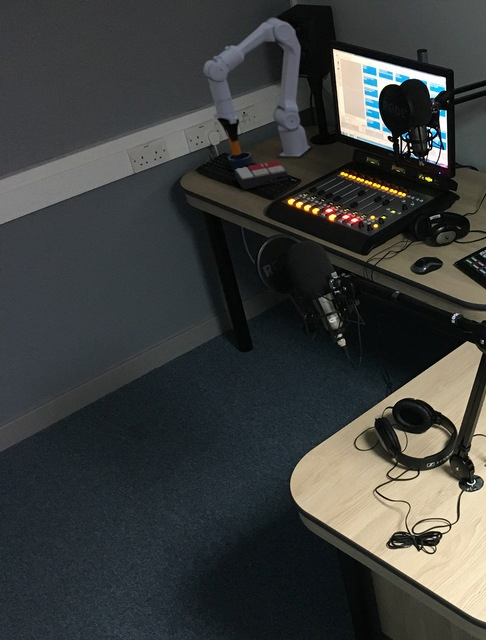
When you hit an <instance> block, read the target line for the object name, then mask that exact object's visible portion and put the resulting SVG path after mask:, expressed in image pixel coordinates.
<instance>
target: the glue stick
mask: <svg viewBox="0 0 486 640" xmlns="http://www.w3.org/2000/svg"><path fill="white" fill-rule="evenodd" d="M226 132H227V131H226ZM226 136H228V137H227V139H228V143H229V146H230V150H231V153H232V154H233V155H239V154H241V152H242V150H241V145H240V142H239V140H238V141H234V142H232V141H231V140H230V138H229V135H228V133H227V135H226ZM232 154H231V155H232Z"/></svg>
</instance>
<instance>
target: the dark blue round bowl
mask: <svg viewBox="0 0 486 640" xmlns="http://www.w3.org/2000/svg"><path fill="white" fill-rule="evenodd" d="M227 160H228V163H229V166H231V167H234V168H239V167H244V166H246V165H248V164H250V163H253V164H254V165H255V163H254V160H253V155H252V153H251V152H248V151H241V154H239V155H233V154H230V155H228V156H227ZM231 167H230V169H231V170H232V171H234V170H235V169H234V168H231Z"/></svg>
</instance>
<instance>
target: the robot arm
mask: <svg viewBox="0 0 486 640" xmlns="http://www.w3.org/2000/svg"><path fill="white" fill-rule="evenodd" d="M265 42H268V43H269V42H271V43H272V42H274V43H275V42H277V44H278V45H279V46H280V47H281V49H282V50H283V57H282V58H283V59H282V69H281V70H282V71H281V83H280V92H279V93H280V94H279V98H278V100H277V102H276V107H275V109H274V111H273V114H272V116H273V120H274V122H275V123H277V126H278V127H277V130H278V135H279V138H280V142H281V147H282V150H283V151H282V152H281V153H280V154H279V157H301V156H302V155H303V154H304V153H305V152H307V151H308V150H309V149H310V148H311V145H309V144H308V140H307V139H308V138H307V135H306V131H305V128H304V127H303V126H302V125H301V117H300V115H299V107H298V104H297V95H298V94H297V92H298V83H299V70H300V61H301V50H302V49H301V47H302V46H301V44H300V42H299V39H298V37H297V34H296V29H294V27H293V26H292V25H291V24H290V23H288V22H287V21H283V20H281V19H279V18H276V17H270V18H268V19H267V20H266V21H264V22H262V23H261V24H260V25H259V26H258V27H257V28H256V29H255V30H254V31H253V32H252V33H251V34H249V35H248V36H247V37H246V38H244V40H242V41H240V43H239V44H238V45H230V46H229V45H226V46H225V47H224V50H223V51H222V52H221V53H219V54H218V55H214V56H213V58H212V59H210V60H207V61H206V62H205V63H204V65H203V70H202V72H203V74H204V76H205V77H207V81H208V84H209V88H210V92H211V96H212V100H213V104H214V107H215V111H216V113H214V114H213V117H214V118H216V120H217V121H218V122H219V123H220V125H221V126H222V128H223V130H224V133H225V134H226V136H227V133H228V135H229V138H230V140H231V141H232V142H234V141H239V132H238V131H239V124H240V120H239V118H236V115H237V111H236V110H235V107H234V102H233V99H232V95H231V90H230V87H229V84H228V81H227V77H228V74H229V73H230V72H231V71H233V70H234V69H235V68H236V67H238V66H239V65H240V64H242V63H243V62H244V60H245V55H247V54H248V53H250V52H251V51H253V50H254V49H256V48H257V47H258V46H259V45H261V44H263V43H265ZM226 131H227V132H226ZM227 138H228V136H227Z"/></svg>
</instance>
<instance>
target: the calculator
mask: <svg viewBox="0 0 486 640" xmlns="http://www.w3.org/2000/svg"><path fill="white" fill-rule="evenodd" d="M233 172H234V177H235V180H236V181H237V183H238V185H240V187H241V189H242V190H248V189H252V188H255V187H258V186H259V187H260V186H264V185H268V184H272V183H276V182H278V183H280V182H284V181H289V176H288V171H287V169H286V168H285V167H284V166H283V165H282V164H281V163H280V162H279V161H278V160H273V161H267V162H263V163H257V164H254V165H250V166H248V167H243V168H237V169H235V170H233ZM280 176H288V177H287V178H283V179H278V180H274V181H270V182H267V181H269V180H272V179H275V178H277V177H280ZM264 182H266V183H264ZM261 183H262V184H261Z"/></svg>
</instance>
